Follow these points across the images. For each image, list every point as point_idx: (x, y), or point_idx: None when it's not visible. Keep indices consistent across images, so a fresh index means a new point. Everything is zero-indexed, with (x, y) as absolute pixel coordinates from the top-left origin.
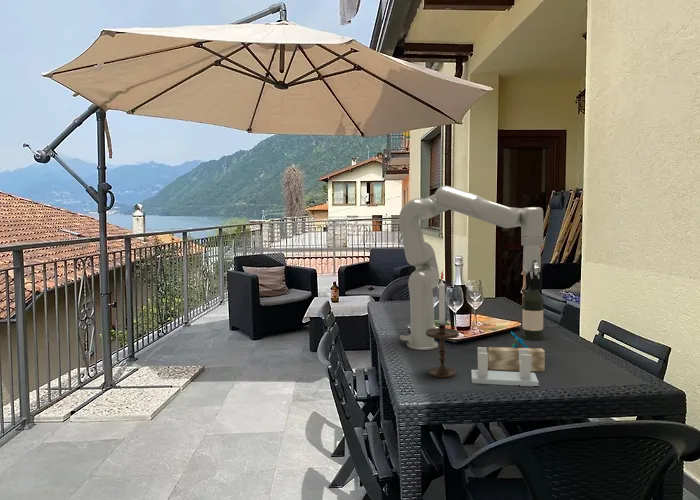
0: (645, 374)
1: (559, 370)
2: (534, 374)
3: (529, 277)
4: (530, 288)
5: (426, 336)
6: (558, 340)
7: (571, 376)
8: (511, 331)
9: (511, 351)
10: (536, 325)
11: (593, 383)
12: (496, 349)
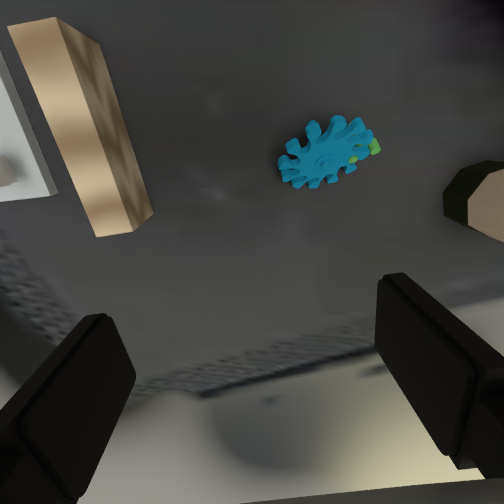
0: (188, 385)
1: (148, 252)
2: (35, 195)
3: (438, 383)
4: (81, 322)
5: None
6: (441, 264)
7: (112, 273)
8: (336, 120)
9: (51, 127)
10: (483, 219)
11: (85, 307)
12: (35, 60)
